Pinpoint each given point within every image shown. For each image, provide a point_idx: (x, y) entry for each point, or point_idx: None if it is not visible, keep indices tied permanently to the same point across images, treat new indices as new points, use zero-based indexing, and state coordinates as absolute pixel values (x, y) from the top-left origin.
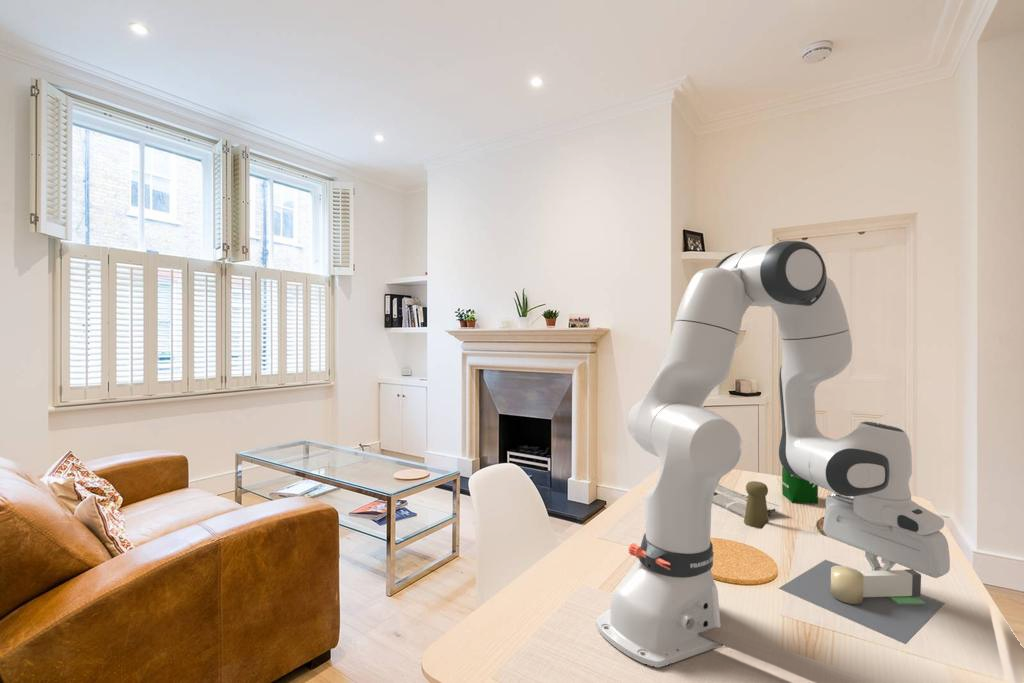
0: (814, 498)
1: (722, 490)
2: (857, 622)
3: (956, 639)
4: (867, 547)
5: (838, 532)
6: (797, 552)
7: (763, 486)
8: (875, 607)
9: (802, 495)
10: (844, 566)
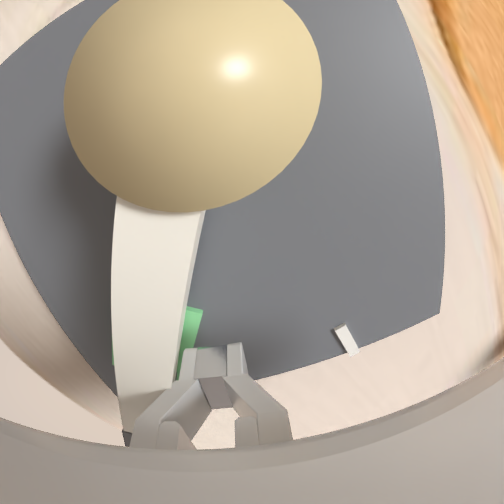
0: None
1: None
2: (64, 15)
3: (17, 289)
4: (259, 481)
5: (500, 424)
6: (489, 286)
7: None
8: None
9: None
10: (281, 163)
